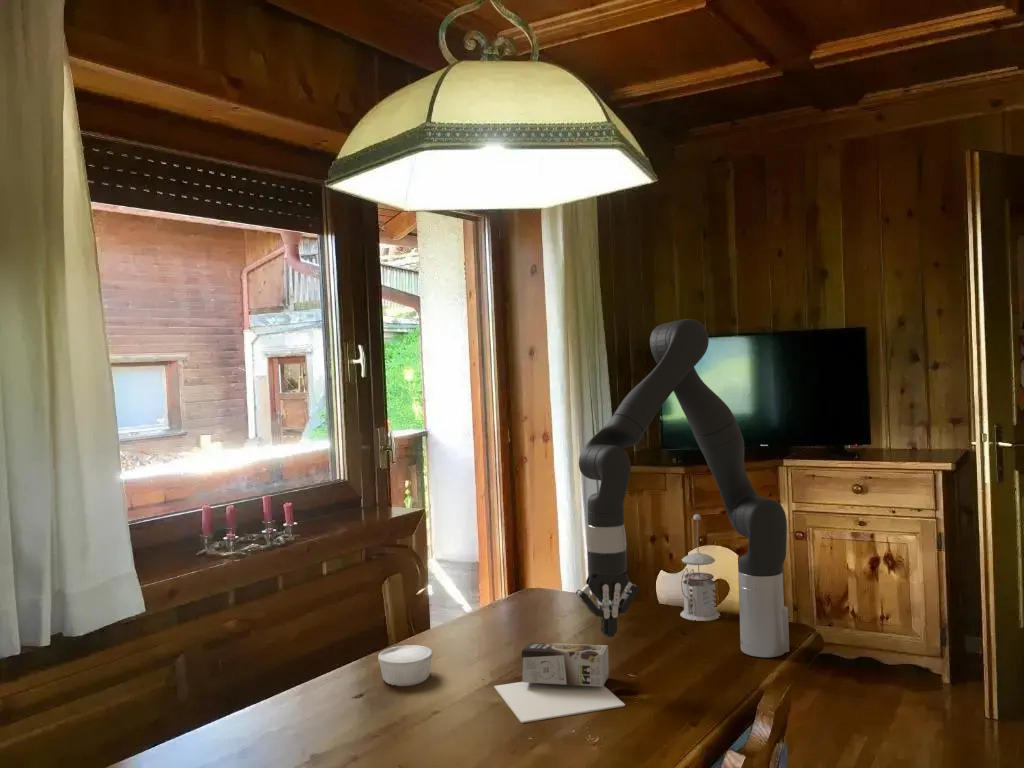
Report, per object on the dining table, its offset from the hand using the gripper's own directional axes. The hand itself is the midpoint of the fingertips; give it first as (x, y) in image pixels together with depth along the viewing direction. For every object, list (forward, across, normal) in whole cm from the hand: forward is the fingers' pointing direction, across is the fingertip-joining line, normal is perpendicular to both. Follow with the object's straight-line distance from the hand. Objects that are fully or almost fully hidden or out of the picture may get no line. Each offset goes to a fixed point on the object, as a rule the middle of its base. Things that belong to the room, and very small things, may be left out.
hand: (609, 635), depth 166 cm
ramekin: (+11, +36, -21) cm, 44 cm away
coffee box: (+6, 0, -2) cm, 7 cm away
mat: (+10, +11, 0) cm, 15 cm away
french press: (+10, -39, -35) cm, 53 cm away
